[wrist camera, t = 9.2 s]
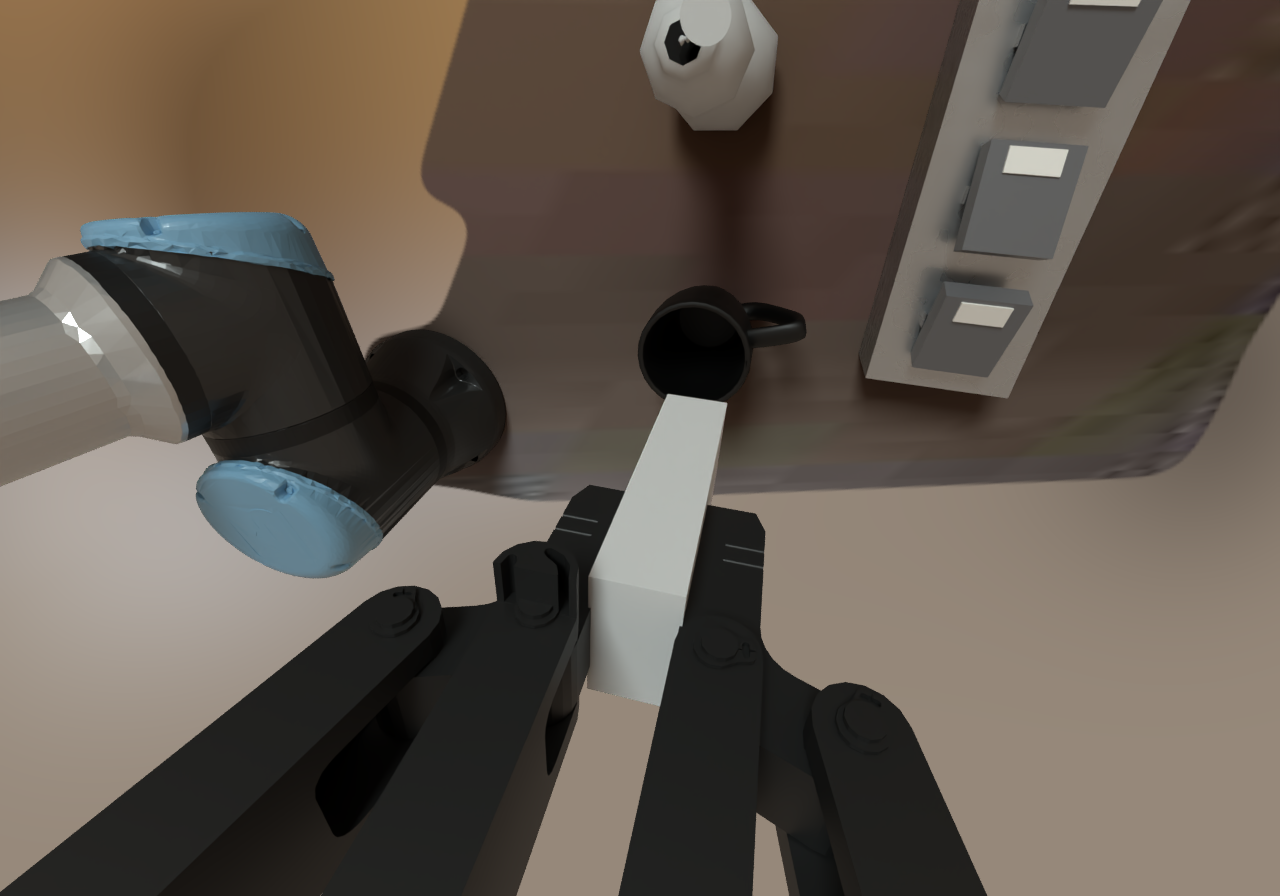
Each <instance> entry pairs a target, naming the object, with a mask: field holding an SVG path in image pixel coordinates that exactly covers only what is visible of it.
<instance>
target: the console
mask: <svg viewBox="0 0 1280 896" xmlns="http://www.w3.org/2000/svg"><path fill="white" fill-rule="evenodd" d="M1036 3H1037V0H960V2H959V6H958V9H957V13H956V16H955V20H954V23H953V27H952V30H951V34H950V37H949V41H948V44H947V48H946V51H945V55H944V58H943V62H942V65H941V69H940V72H939V76H938V79H937V83H936V86H935V90H934V93H933V97H932V100H931V104H930V107H929V111H928V114H927V118H926V121H925V125H924V128H923V132H922V135H921V139H920V142H919V146H918V149H917V153H916V156H915V159H914V163H913V166H912V170H911V173H910V177H909V180H908V184H907V187H906V191H905V194H904V198H903V201H902V205H901V208H900V212H899V215H898V219H897V222H896V226H895V229H894V233H893V236H892V240H891V243H890V247H889V250H888V254H887V257H886V261H885V264H884V268H883V271H882V275H881V278H880V282H879V285H878V289H877V292H876V296H875V299H874V303H873V306H872V310H871V313H870V317H869V320H868V324H867V327H866V331H865V334H864V338H863V341H862V345H861V348H860V352H859V357H860V361H861V364H862V367H863V371H864V374H865V378H869V379H876V380H883V381H890V382H897V383H904V384H911V385H918V386H925V387H932V388H939V389H946V390H953V391H960V392H967V393H974V394H981V395H988V396H995V397H1002V398H1008V397H1009V395H1010V392H1011V390H1012V388H1013V386H1014V384H1015V382H1016V379H1017V377H1018V375H1019V373H1020V371H1021V368H1022V366H1023V364H1024V362H1025V360H1026V358H1027V355H1028V353H1029V351H1030V349H1031V347H1032V345H1033V342H1034V340H1035V338H1036V336H1037V334H1038V331H1039V329H1040V327H1041V325H1042V323H1043V321H1044V318H1045V316H1046V314H1047V312H1048V310H1049V307H1050V305H1051V303H1052V301H1053V299H1054V297H1055V294H1056V292H1057V290H1058V288H1059V286H1060V284H1061V281H1062V279H1063V277H1064V275H1065V273H1066V270H1067V268H1068V266H1069V264H1070V262H1071V260H1072V257H1073V255H1074V253H1075V251H1076V249H1077V246H1078V244H1079V242H1080V240H1081V238H1082V236H1083V233H1084V231H1085V229H1086V227H1087V225H1088V223H1089V220H1090V218H1091V216H1092V214H1093V212H1094V209H1095V207H1096V205H1097V203H1098V201H1099V199H1100V196H1101V194H1102V192H1103V190H1104V188H1105V186H1106V183H1107V181H1108V179H1109V177H1110V175H1111V172H1112V170H1113V168H1114V166H1115V164H1116V162H1117V159H1118V157H1119V155H1120V153H1121V151H1122V148H1123V146H1124V144H1125V142H1126V140H1127V138H1128V135H1129V133H1130V131H1131V129H1132V127H1133V125H1134V122H1135V120H1136V118H1137V116H1138V114H1139V111H1140V109H1141V107H1142V105H1143V103H1144V101H1145V98H1146V96H1147V94H1148V92H1149V90H1150V87H1151V85H1152V83H1153V81H1154V79H1155V77H1156V74H1157V72H1158V70H1159V68H1160V66H1161V64H1162V61H1163V59H1164V57H1165V55H1166V53H1167V50H1168V48H1169V46H1170V44H1171V42H1172V40H1173V37H1174V35H1175V33H1176V31H1177V29H1178V27H1179V24H1180V22H1181V20H1182V18H1183V16H1184V13H1185V11H1186V9H1187V7H1188V5H1189V3H1190V0H1163V1H1162V3H1161V5H1160V7H1159V9H1158V11H1157V13H1156V14H1155V16H1154V18H1153V20H1152V22H1151V24H1150V26H1149V27H1148V29H1147V31H1146V33H1145V35H1144V37H1143V39H1142V40H1141V42H1140V44H1139V46H1138V48H1137V50H1136V52H1135V53H1134V55H1133V57H1132V59H1131V61H1130V63H1129V65H1128V66H1127V68H1126V70H1125V72H1124V74H1123V76H1122V78H1121V79H1120V81H1119V83H1118V85H1117V87H1116V89H1115V90H1114V92H1113V94H1112V96H1111V98H1110V100H1109V102H1108V103H1107V105H1106V107H1105V108H1096V107H1080V106H1063V105H1047V104H1031V103H1015V102H1005V101H1004V100H1003V99H1002V97H1001V96H1000V94H999V93H1000V91H1001V88H1002V86H1003V83H1004V81H1005V78H1006V76H1007V73H1008V71H1009V69H1010V66H1011V64H1012V61H1013V59H1014V56H1015V54H1016V51H1017V49H1018V47H1019V44H1020V42H1021V39H1022V37H1023V34H1024V32H1025V29H1026V27H1027V25H1028V22H1029V20H1030V17H1031V15H1032V12H1033V10H1034V7H1035V5H1036ZM991 139H1001V140H1015V141H1029V142H1043V143H1057V144H1071V145H1085V146H1089V147H1088V150H1087V153H1086V157H1085V160H1084V163H1083V166H1082V169H1081V172H1080V175H1079V178H1078V182H1077V185H1076V188H1075V191H1074V194H1073V197H1072V200H1071V203H1070V207H1069V210H1068V213H1067V216H1066V219H1065V222H1064V225H1063V228H1062V232H1061V235H1060V238H1059V241H1058V244H1057V247H1056V250H1055V253H1054V257H1053V259H1049V260H1040V261H1039V260H1030V259H1020V258H1010V257H1001V256H991V255H982V254H972V253H962V252H953V250H954V247H955V243H956V239H957V235H958V232H959V228H960V224H961V221H962V217H963V213H964V209H965V206H966V202H967V198H968V194H969V191H970V187H971V183H972V180H973V176H974V172H975V168H976V165H977V161H978V157H979V153H980V150H981V146H982V145H984V144H985V143H987V142H988V141H990V140H991ZM944 281H946V282H955V283H964V284H973V285H981V286H990V287H999V288H1008V289H1017V290H1026V291H1029V294H1030V297H1031V300H1032V303H1033V308H1032V309H1031V311H1030V313H1029V314H1028V316H1027V317H1026V319H1025V320H1024V322H1023V323H1022V325H1021V327H1020V328H1019V330H1018V331H1017V333H1016V334H1015V336H1014V337H1013V339H1012V341H1011V342H1010V344H1009V345H1008V347H1007V348H1006V350H1005V351H1004V353H1003V355H1002V356H1001V358H1000V359H999V361H998V362H997V364H996V365H995V367H994V368H993V370H992V372H991V373H990V375H989V376H988V378H986V377H979V376H972V375H964V374H957V373H950V372H943V371H935V370H928V369H921V368H914V367H912V363H911V350H912V348H913V346H914V344H915V342H916V340H917V338H918V336H919V333H920V331H921V329H922V327H923V325H924V323H925V321H926V319H927V317H928V314H929V312H930V310H931V308H932V306H933V304H934V302H935V300H936V297H937V295H938V293H939V291H940V289H941V287H942V285H943V283H944Z"/></svg>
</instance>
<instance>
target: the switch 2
mask: <svg viewBox="0 0 1280 896" xmlns="http://www.w3.org/2000/svg"><path fill="white" fill-rule="evenodd" d="M1088 147H1089V146H1085V145H1071V144H1057V143H1043V142H1029V141H1015V140H1001V139H991V140H990V141H988V142H987V143H985V144H984V145H982V146H981V150H980V153H979V157H978V161H977V165H976V168H975V172H974V176H973V180H972V183H971V187H970V191H969V194H968V198H967V202H966V206H965V209H964V213H963V217H962V221H961V224H960V228H959V232H958V235H957V239H956V243H955V247H954V250H953V252H962V253H972V254H982V255H991V256H1001V257H1010V258H1020V259H1030V260H1039V261H1040V260H1049V259H1053V257H1054V253H1055V250H1056V247H1057V244H1058V241H1059V238H1060V235H1061V232H1062V228H1063V225H1064V222H1065V219H1066V216H1067V213H1068V210H1069V207H1070V203H1071V200H1072V197H1073V194H1074V191H1075V188H1076V185H1077V182H1078V178H1079V175H1080V172H1081V169H1082V166H1083V163H1084V160H1085V157H1086V153H1087V150H1088Z"/></svg>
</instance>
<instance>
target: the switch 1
mask: <svg viewBox="0 0 1280 896" xmlns="http://www.w3.org/2000/svg"><path fill="white" fill-rule="evenodd" d="M1162 1H1163V0H1037V3H1036V5H1035V7H1034V10H1033V12H1032V15H1031V17H1030V20H1029V22H1028V25H1027V27H1026V29H1025V32H1024V34H1023V37H1022V39H1021V42H1020V44H1019V47H1018V49H1017V51H1016V54H1015V56H1014V59H1013V61H1012V64H1011V66H1010V69H1009V71H1008V73H1007V76H1006V78H1005V81H1004V83H1003V86H1002V88H1001V91H1000V93H999V94H1000V96H1001V97H1002V99H1003V100H1004V101H1005V102H1015V103H1031V104H1047V105H1063V106H1080V107H1096V108H1105V107H1106V105H1107V103H1108V102H1109V100H1110V98H1111V96H1112V94H1113V92H1114V90H1115V89H1116V87H1117V85H1118V83H1119V81H1120V79H1121V78H1122V76H1123V74H1124V72H1125V70H1126V68H1127V66H1128V65H1129V63H1130V61H1131V59H1132V57H1133V55H1134V53H1135V52H1136V50H1137V48H1138V46H1139V44H1140V42H1141V40H1142V39H1143V37H1144V35H1145V33H1146V31H1147V29H1148V27H1149V26H1150V24H1151V22H1152V20H1153V18H1154V16H1155V14H1156V13H1157V11H1158V9H1159V7H1160V5H1161V3H1162Z"/></svg>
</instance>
